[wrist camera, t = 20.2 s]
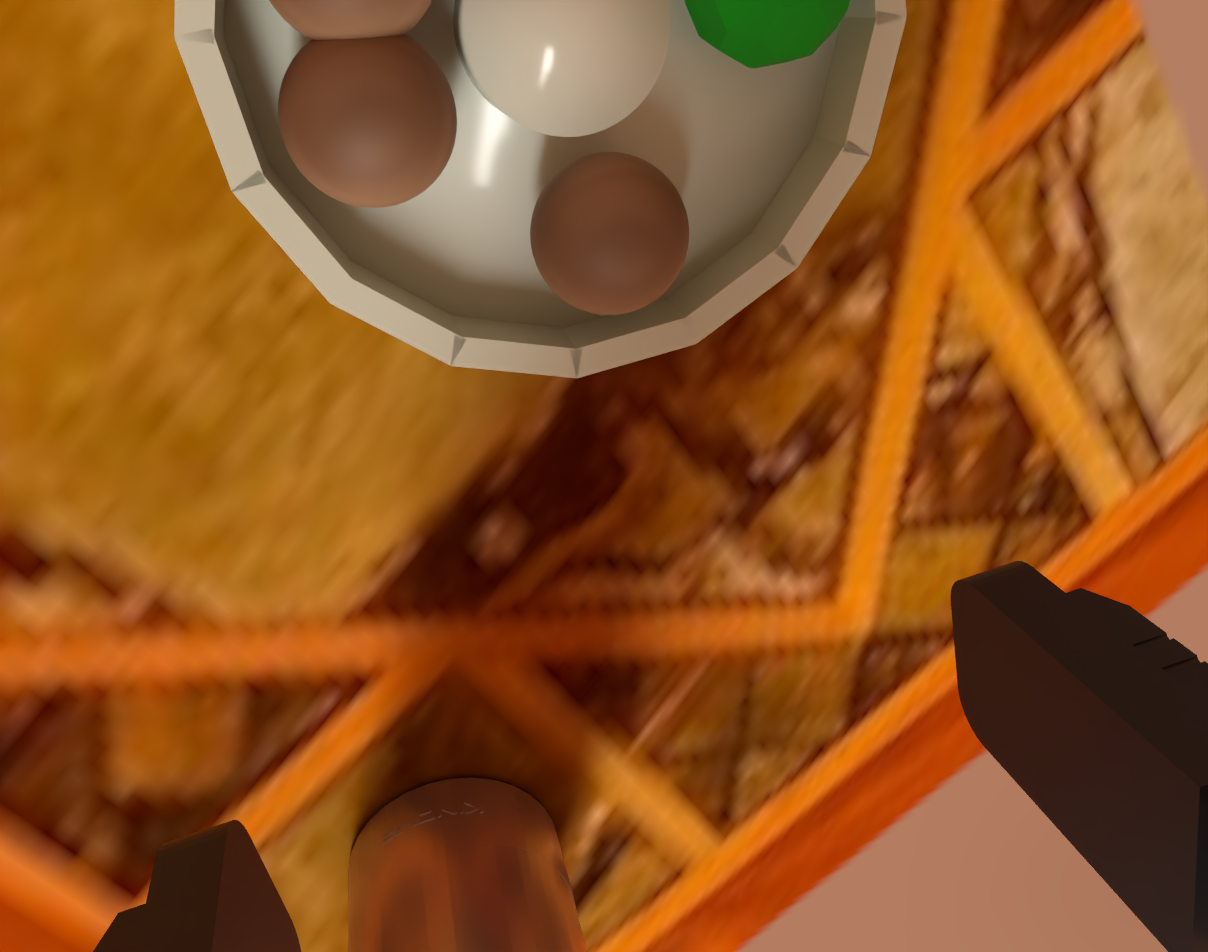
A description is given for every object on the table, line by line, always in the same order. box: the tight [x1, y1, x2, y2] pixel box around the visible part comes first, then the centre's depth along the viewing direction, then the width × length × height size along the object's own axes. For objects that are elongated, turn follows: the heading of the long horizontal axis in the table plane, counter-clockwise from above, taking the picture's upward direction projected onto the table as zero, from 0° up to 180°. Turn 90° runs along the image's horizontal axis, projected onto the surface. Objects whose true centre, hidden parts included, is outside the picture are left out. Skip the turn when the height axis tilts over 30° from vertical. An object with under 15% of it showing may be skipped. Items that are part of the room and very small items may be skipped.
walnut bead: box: [530, 152, 689, 315], centre depth 33 cm, size 5×5×5 cm
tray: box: [174, 0, 907, 378], centre depth 31 cm, size 21×21×4 cm
